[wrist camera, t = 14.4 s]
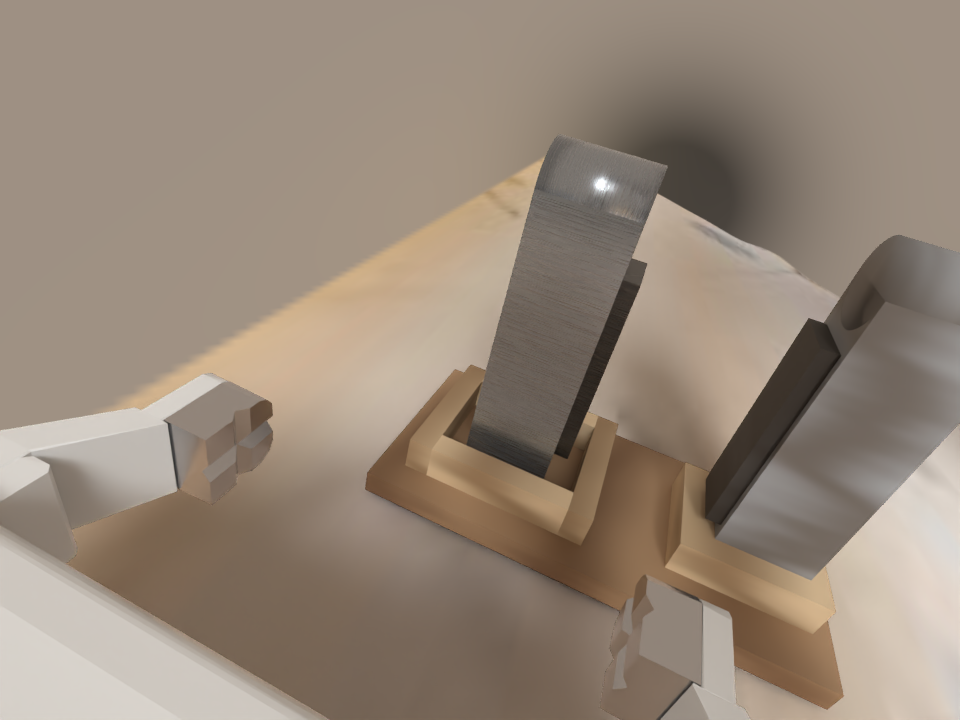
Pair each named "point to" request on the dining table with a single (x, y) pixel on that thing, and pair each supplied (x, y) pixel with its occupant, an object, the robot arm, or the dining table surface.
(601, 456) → the twin post stand
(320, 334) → the dining table surface
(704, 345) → the dining table surface
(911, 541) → the dining table surface
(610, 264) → the grey tall block
